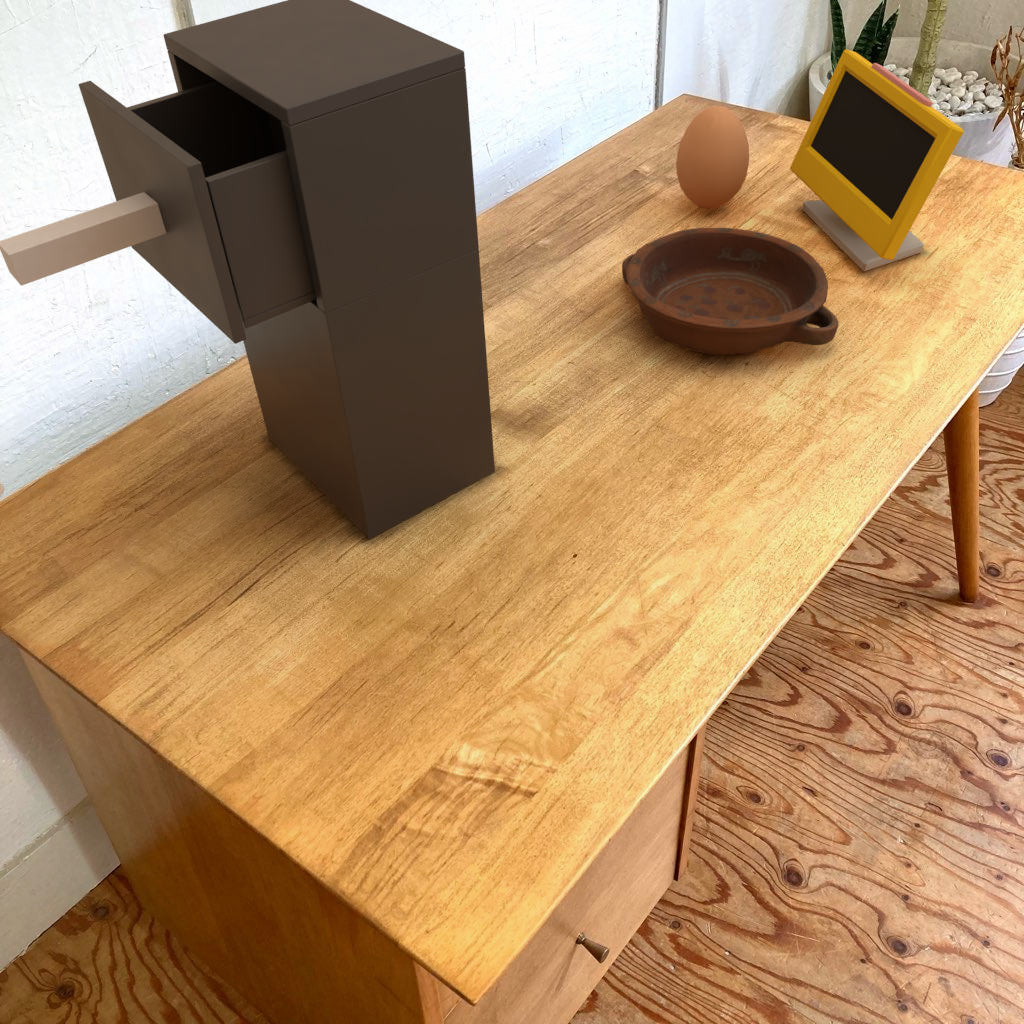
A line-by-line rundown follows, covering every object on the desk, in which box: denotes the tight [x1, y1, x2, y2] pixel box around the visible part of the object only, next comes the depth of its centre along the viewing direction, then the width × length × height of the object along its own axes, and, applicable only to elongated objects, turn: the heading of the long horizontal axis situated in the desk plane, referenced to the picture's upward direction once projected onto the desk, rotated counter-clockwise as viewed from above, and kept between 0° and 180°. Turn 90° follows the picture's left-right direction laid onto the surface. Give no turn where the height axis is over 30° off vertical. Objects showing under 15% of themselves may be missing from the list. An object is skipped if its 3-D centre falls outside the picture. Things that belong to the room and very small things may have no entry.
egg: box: [675, 105, 750, 210], centre depth 111 cm, size 8×8×11 cm
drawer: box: [0, 80, 316, 345], centre depth 64 cm, size 21×16×11 cm
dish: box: [621, 227, 839, 356], centre depth 97 cm, size 18×22×5 cm
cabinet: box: [163, 0, 496, 540], centre depth 75 cm, size 12×16×33 cm
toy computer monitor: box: [789, 48, 964, 272], centre depth 104 cm, size 20×8×16 cm, turn 14°
